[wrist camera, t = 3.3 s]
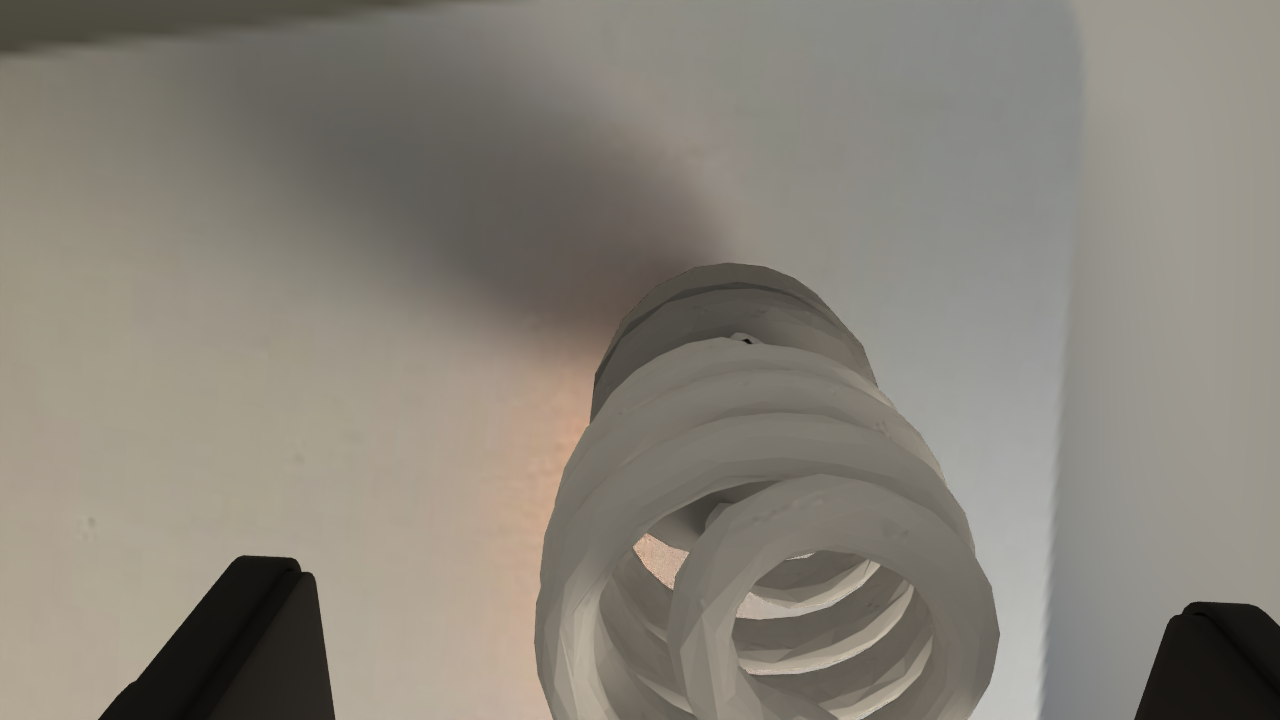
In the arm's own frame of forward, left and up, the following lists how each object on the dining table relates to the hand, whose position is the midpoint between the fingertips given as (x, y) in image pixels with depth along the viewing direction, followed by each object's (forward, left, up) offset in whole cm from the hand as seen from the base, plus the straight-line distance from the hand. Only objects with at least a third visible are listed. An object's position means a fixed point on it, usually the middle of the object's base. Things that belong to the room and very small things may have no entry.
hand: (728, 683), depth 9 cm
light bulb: (0, 0, -11) cm, 11 cm away
